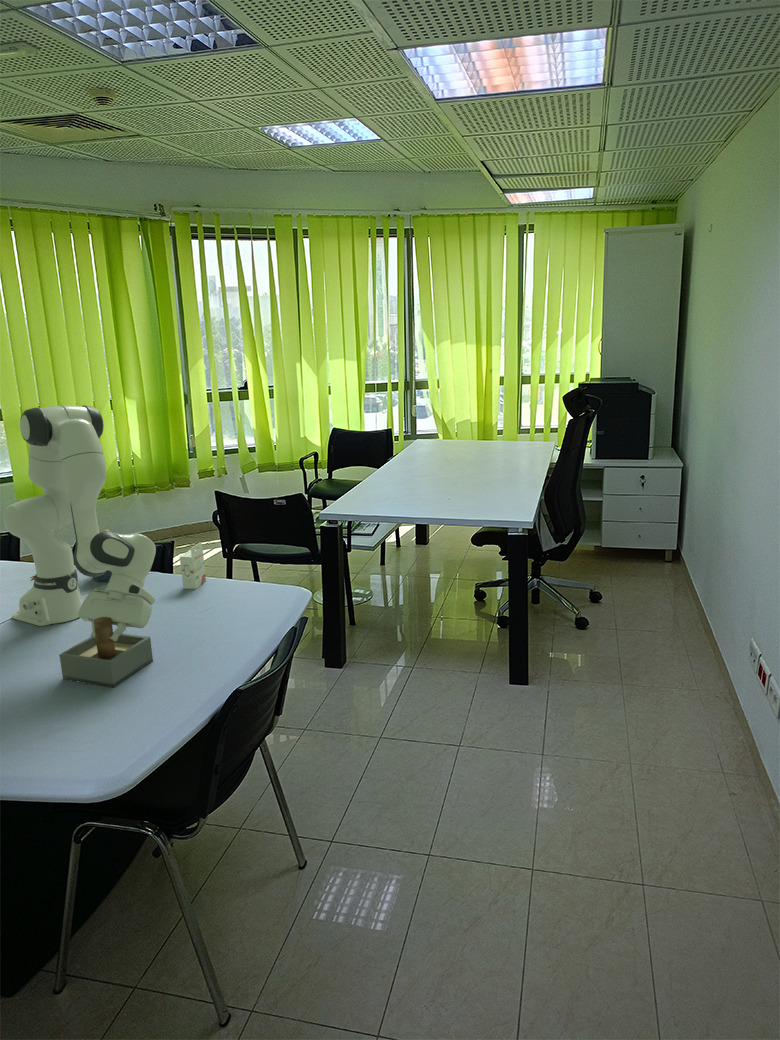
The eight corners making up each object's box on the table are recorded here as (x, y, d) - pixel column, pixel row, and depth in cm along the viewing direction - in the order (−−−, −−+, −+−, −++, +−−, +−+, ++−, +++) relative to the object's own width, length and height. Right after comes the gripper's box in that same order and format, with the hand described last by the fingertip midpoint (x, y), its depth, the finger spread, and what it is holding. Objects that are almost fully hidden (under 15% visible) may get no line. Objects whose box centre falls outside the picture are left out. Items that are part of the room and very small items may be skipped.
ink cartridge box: (193, 580, 269) (189, 540, 265) (206, 581, 268) (202, 541, 264) (182, 588, 261) (178, 548, 257) (195, 589, 260) (191, 548, 256)
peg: (95, 664, 199) (89, 622, 196) (106, 657, 203) (101, 616, 200) (109, 666, 197) (103, 624, 194) (120, 659, 201) (114, 617, 198)
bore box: (63, 679, 196) (59, 654, 194) (104, 653, 211) (101, 630, 209) (113, 687, 191) (110, 662, 189) (153, 661, 205) (150, 637, 203)
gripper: (85, 582, 205) (64, 630, 199) (148, 589, 198) (128, 638, 192) (98, 592, 210) (78, 639, 204) (160, 599, 203) (141, 647, 197)
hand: (103, 639), depth 198 cm, fingers closed on peg, 4 cm apart
